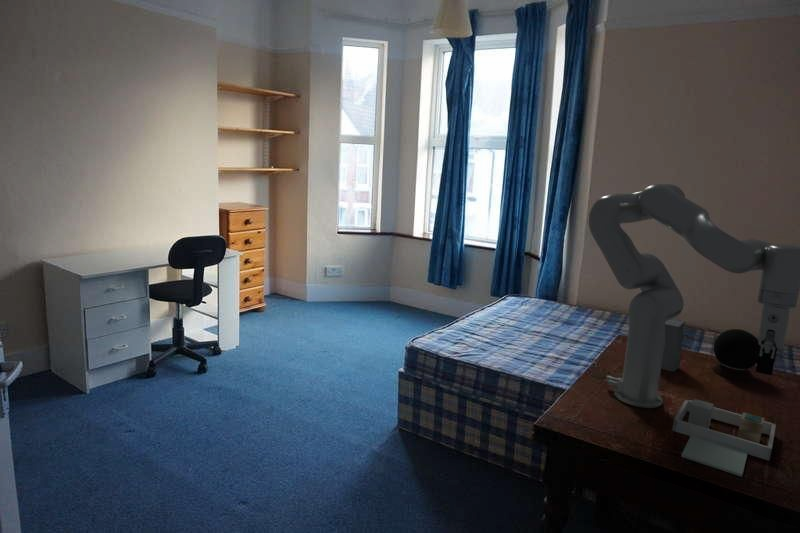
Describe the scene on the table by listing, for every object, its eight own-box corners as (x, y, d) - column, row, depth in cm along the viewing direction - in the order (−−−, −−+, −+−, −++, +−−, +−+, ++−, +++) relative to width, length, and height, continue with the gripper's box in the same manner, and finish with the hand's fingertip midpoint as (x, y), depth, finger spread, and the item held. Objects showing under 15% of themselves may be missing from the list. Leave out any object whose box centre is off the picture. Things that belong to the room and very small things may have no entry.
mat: (681, 456, 126) (681, 454, 126) (690, 436, 135) (691, 434, 135) (741, 476, 119) (742, 474, 119) (747, 454, 128) (747, 452, 128)
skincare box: (679, 367, 181) (687, 322, 177) (673, 373, 175) (680, 326, 172) (652, 360, 186) (659, 315, 183) (645, 365, 181) (652, 320, 178)
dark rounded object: (756, 373, 179) (765, 329, 176) (755, 386, 169) (765, 340, 166) (711, 363, 187) (718, 321, 183) (707, 375, 176) (715, 330, 173)
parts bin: (672, 430, 138) (673, 419, 137) (684, 409, 150) (685, 399, 150) (769, 460, 126) (771, 449, 125) (773, 435, 138) (775, 424, 138)
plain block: (687, 426, 141) (691, 404, 140) (690, 419, 144) (694, 398, 143) (706, 432, 138) (710, 410, 137) (709, 425, 142) (713, 404, 140)
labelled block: (736, 441, 134) (741, 417, 133) (738, 434, 138) (743, 411, 137) (758, 447, 132) (763, 424, 130) (759, 440, 135) (764, 417, 134)
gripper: (796, 308, 118) (782, 382, 122) (798, 294, 132) (785, 361, 135) (755, 301, 123) (742, 373, 126) (761, 288, 136) (750, 354, 140)
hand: (765, 367), depth 131 cm, fingers open, 9 cm apart
